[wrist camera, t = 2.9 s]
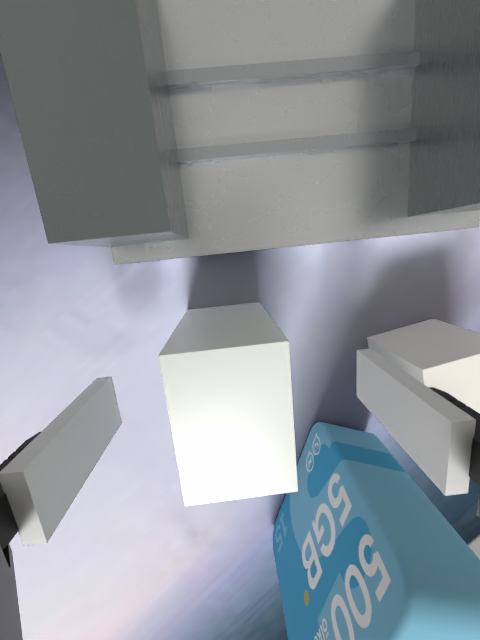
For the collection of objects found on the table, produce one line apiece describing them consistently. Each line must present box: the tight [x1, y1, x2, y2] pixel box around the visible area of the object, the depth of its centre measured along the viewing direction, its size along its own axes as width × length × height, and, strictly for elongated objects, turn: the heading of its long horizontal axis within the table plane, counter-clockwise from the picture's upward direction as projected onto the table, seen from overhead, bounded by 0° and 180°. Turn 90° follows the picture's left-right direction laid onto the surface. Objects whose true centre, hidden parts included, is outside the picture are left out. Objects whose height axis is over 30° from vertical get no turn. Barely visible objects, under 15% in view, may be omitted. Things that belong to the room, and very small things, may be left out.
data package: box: [273, 422, 480, 640], centre depth 18 cm, size 12×4×12 cm, turn 164°
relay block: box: [367, 319, 480, 413], centre depth 18 cm, size 5×5×6 cm
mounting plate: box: [0, 0, 480, 264], centre depth 13 cm, size 22×14×8 cm, turn 96°
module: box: [158, 302, 298, 506], centre depth 16 cm, size 5×7×9 cm
